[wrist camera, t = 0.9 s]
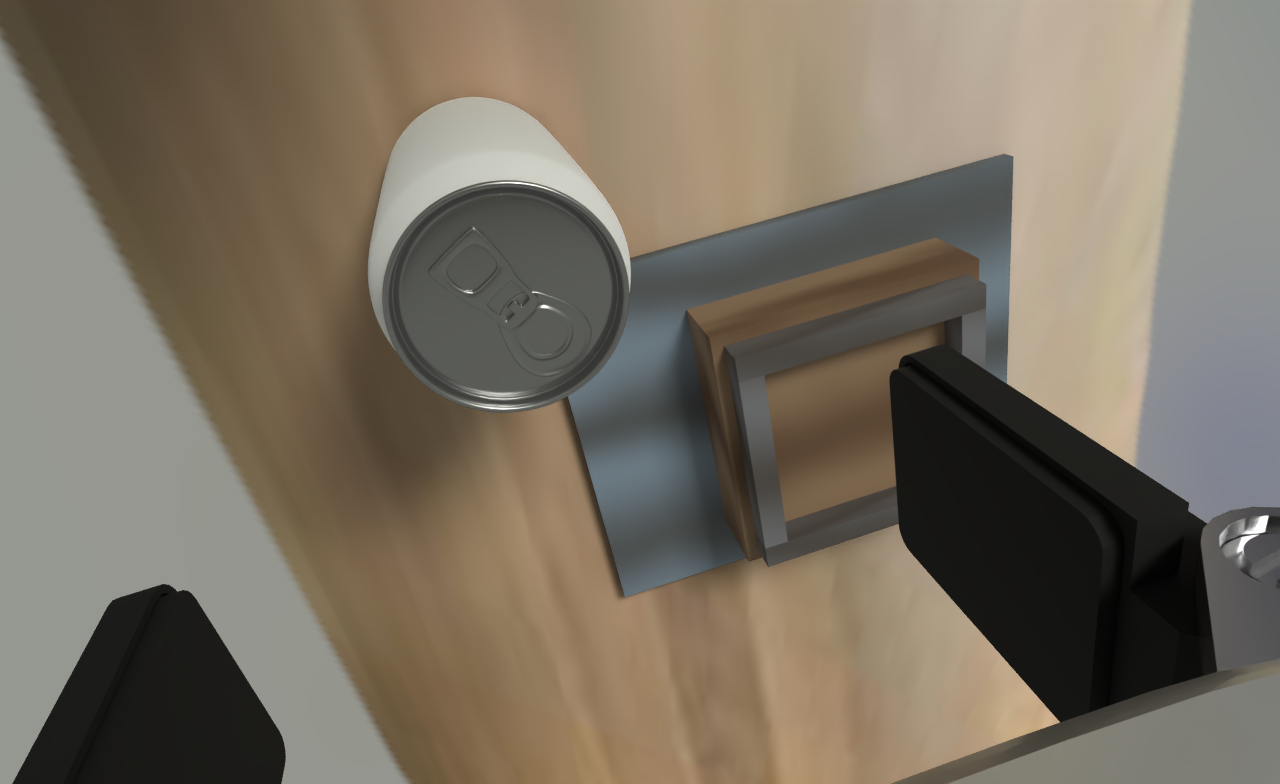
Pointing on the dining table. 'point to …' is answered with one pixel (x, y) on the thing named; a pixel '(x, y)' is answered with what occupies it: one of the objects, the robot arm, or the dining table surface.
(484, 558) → the dining table surface
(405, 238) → the can
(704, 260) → the board
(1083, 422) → the dining table surface
